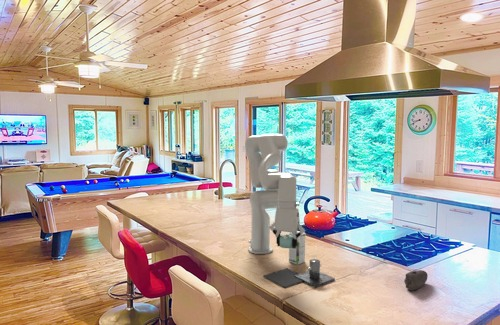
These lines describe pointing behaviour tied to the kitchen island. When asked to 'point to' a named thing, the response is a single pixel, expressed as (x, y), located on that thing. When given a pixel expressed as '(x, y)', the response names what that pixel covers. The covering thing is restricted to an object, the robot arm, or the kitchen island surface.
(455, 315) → the kitchen island surface
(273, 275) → the pad
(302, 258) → the syrup box
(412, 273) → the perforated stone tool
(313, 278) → the dark grey square-based fixture
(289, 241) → the cap
